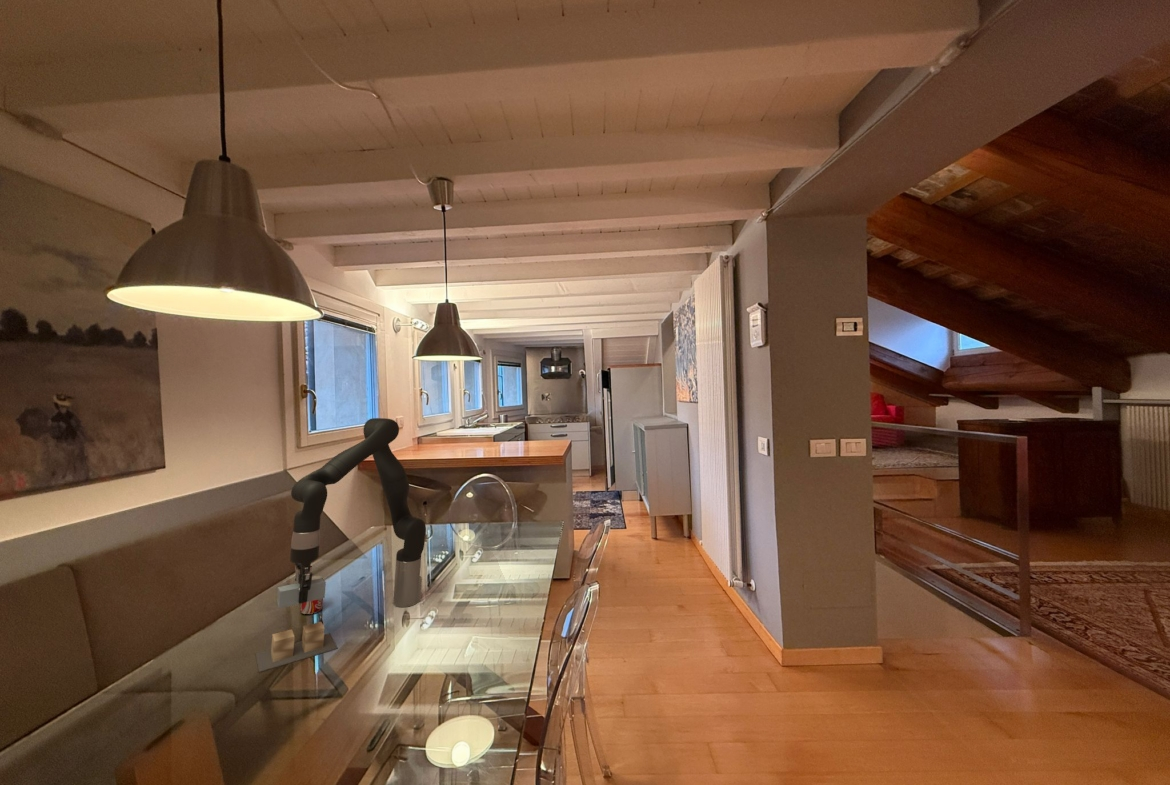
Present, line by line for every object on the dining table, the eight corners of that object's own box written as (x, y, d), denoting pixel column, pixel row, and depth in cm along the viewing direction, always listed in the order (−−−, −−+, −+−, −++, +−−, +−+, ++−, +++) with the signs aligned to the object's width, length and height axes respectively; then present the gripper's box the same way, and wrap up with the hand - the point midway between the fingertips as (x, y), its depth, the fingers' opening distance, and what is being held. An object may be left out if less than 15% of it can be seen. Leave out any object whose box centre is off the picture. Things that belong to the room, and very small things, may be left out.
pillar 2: (319, 640, 139) (321, 621, 140) (323, 647, 136) (324, 628, 136) (301, 645, 136) (303, 626, 136) (304, 652, 132) (306, 633, 132)
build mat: (330, 633, 144) (330, 632, 144) (337, 648, 136) (337, 647, 136) (255, 654, 131) (255, 653, 131) (259, 672, 122) (259, 671, 122)
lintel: (321, 593, 139) (322, 577, 139) (324, 597, 136) (325, 582, 136) (276, 603, 131) (277, 587, 131) (278, 608, 128) (280, 591, 128)
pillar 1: (290, 648, 134) (291, 629, 134) (293, 656, 130) (294, 636, 130) (270, 654, 131) (272, 634, 131) (272, 662, 127) (274, 641, 127)
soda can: (311, 617, 154) (313, 583, 154) (294, 614, 155) (297, 581, 155) (326, 608, 161) (329, 576, 161) (310, 605, 162) (313, 573, 162)
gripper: (324, 548, 131) (320, 605, 131) (314, 536, 142) (310, 588, 141) (295, 553, 126) (290, 612, 126) (287, 540, 137) (283, 594, 136)
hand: (301, 599), depth 134 cm, fingers closed on lintel, 4 cm apart
